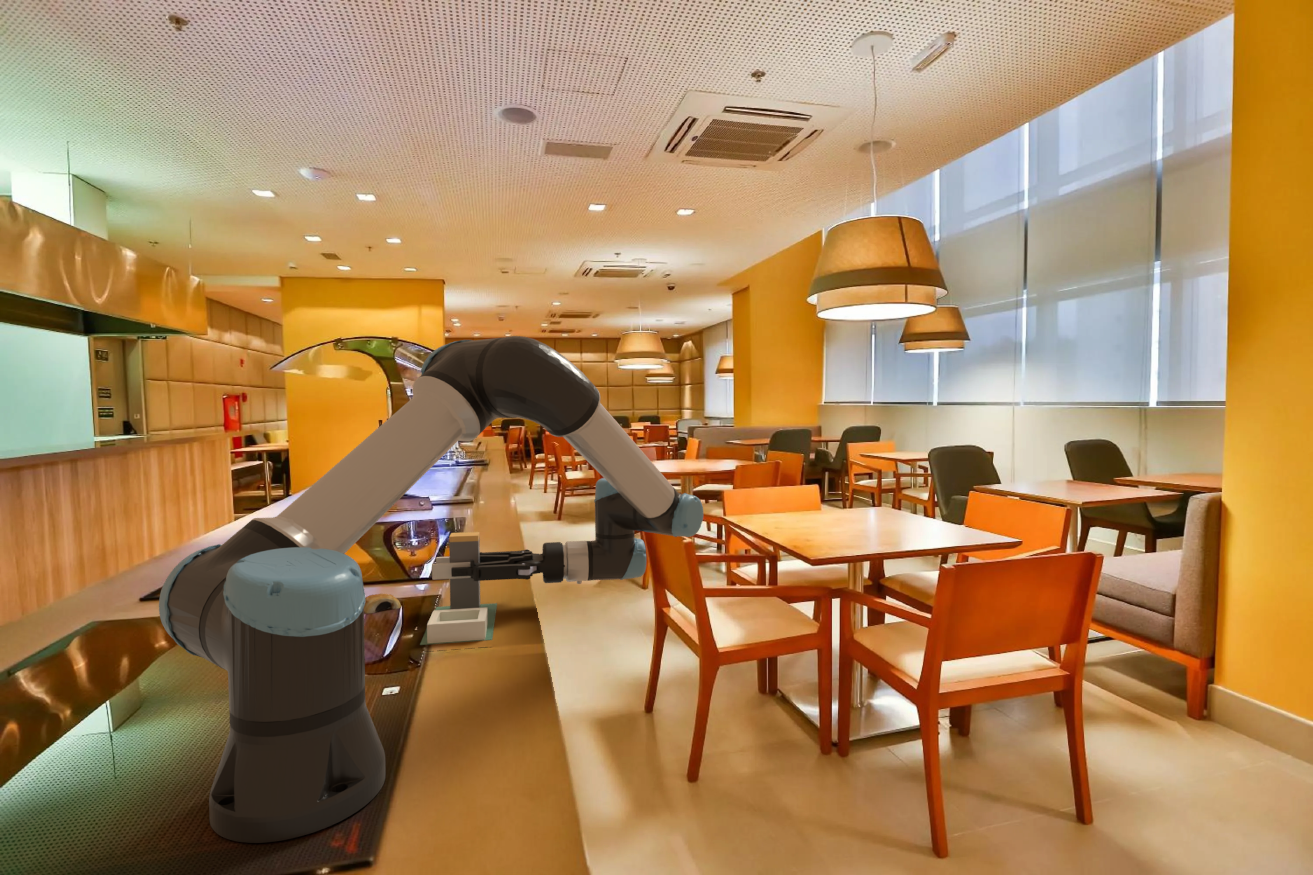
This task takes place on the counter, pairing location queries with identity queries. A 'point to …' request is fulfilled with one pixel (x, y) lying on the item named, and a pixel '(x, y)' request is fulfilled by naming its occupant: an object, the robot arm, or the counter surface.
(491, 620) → the board
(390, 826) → the counter surface
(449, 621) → the header
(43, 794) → the counter surface
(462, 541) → the plug
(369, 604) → the pastry
